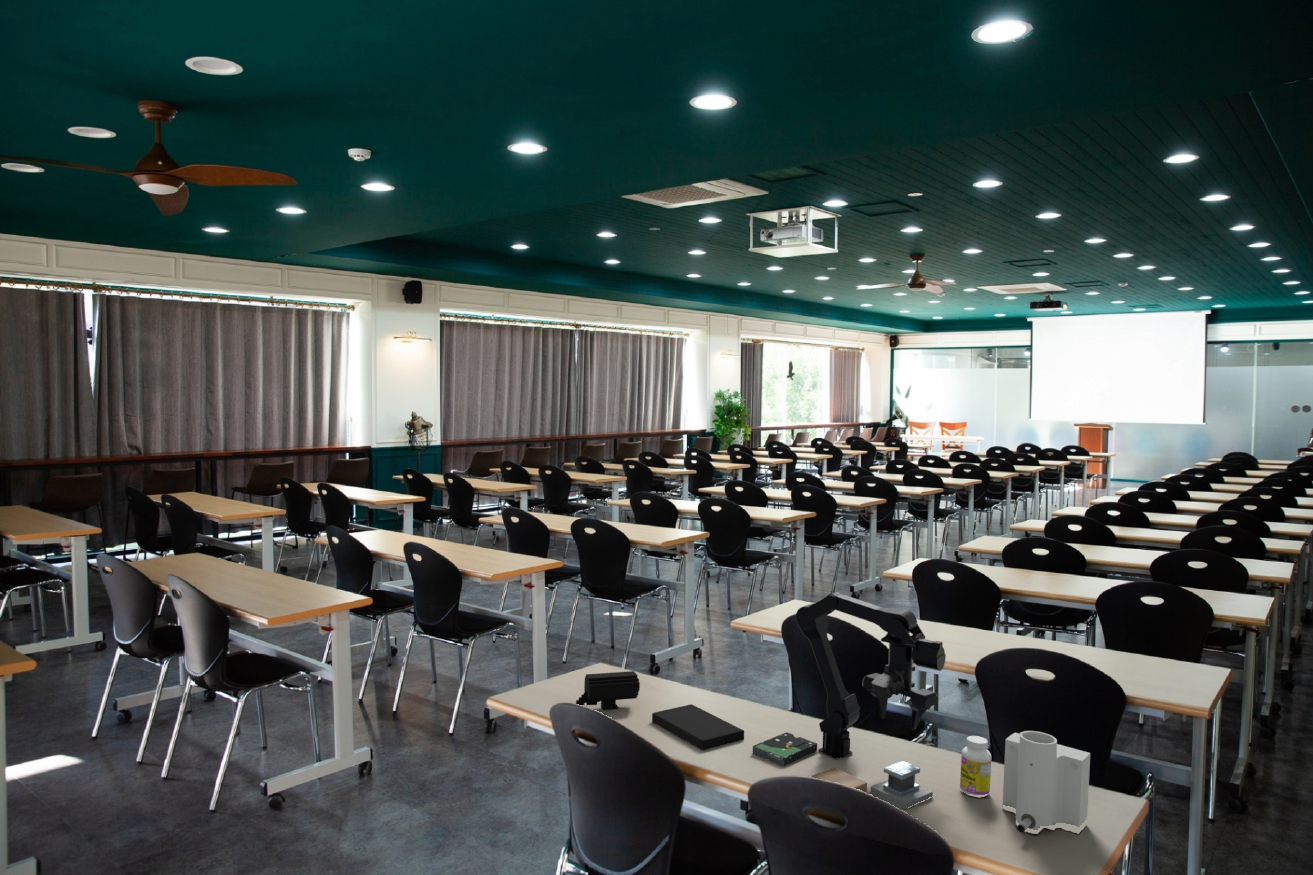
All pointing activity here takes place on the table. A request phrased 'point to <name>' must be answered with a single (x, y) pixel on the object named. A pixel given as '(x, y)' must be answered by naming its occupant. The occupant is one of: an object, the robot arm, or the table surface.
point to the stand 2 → (904, 800)
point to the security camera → (609, 689)
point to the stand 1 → (842, 778)
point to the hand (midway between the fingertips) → (897, 724)
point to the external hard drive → (697, 727)
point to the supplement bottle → (975, 767)
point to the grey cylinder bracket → (1045, 781)
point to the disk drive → (784, 749)
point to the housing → (901, 778)
